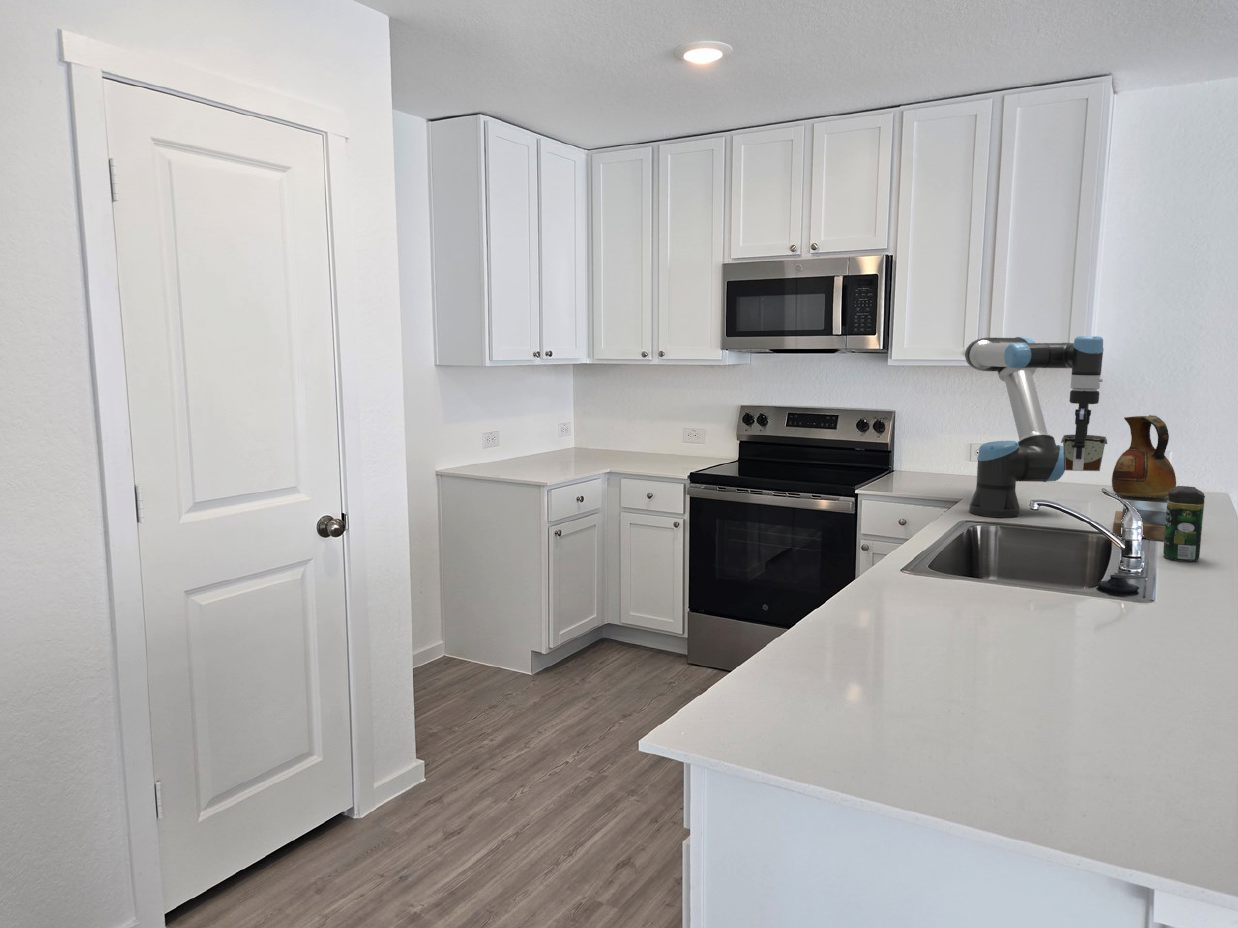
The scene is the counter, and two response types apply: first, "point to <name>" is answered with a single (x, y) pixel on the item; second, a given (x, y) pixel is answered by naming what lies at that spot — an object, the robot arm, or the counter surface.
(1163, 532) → the pedestal
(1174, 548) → the coffee jar
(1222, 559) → the counter surface
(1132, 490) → the ceramic pitcher
